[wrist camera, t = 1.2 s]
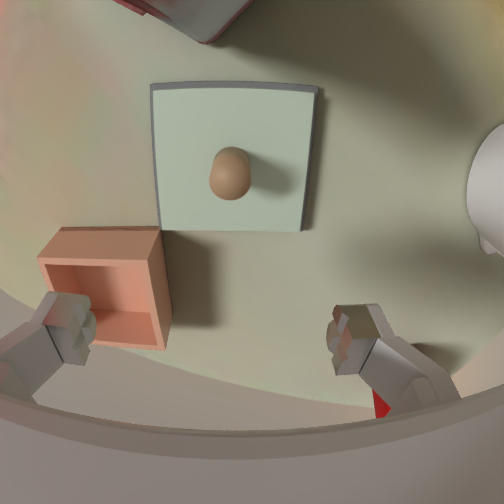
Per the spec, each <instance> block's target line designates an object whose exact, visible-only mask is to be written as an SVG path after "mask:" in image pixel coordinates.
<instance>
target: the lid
mask: <svg viewBox="0 0 504 504" xmlns="http://www.w3.org/2000/svg"><path fill="white" fill-rule="evenodd" d="M313 103H314V93H313V92H307V91H296V90H283V89H267V88H239V87H203V88H176V89H160V90H154V91H153V112H154V135H155V153H156V168H157V181H158V193H159V204H160V214H161V224H162V230H213V231H277V232H300V225H301V217H302V209H303V200H304V192H305V183H306V174H307V165H308V156H309V146H310V136H311V126H312V115H313Z"/></svg>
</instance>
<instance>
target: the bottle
mask: <svg viewBox="0 0 504 504" xmlns="http://www.w3.org/2000/svg"><path fill="white" fill-rule="evenodd" d="M113 1H115V2H117V3H119V4H121V5H123V6H125V7H126V8H128V9H130V10H132V11H134V12H136V13H138V14H140V15H142V16H143V15H144V14H145V13H146V12H147V13H149V14H150V15H152V16H154V17H156V18H158V19H160V20H161V21H163V22H165V23H167V24H168V25H170V26H172V27H174V28H175V29H177V30H179V31H181V32H182V33H184V34H186V35H187V36H189V37H190V38H192V39H194V40H195V41H197V42H199V43H201V44H206V45H208V44H210V43H212V42H214V41H215V40H216V39H217V38H218V37H219V36H220V35H221V34H222V33H223V32H224V31H225V30H226V28H227V27H228V26H229V25H230V24H231V23H232V22H233V21H234V20H235V19H236V18H237V17H238V16H239V15H240V14H241V13H242V12H243V11H244V10H245V9H246V8H247V7H248V6H249V5H250V4H251V3H252V2H253V1H254V0H113Z"/></svg>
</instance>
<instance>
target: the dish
mask: <svg viewBox="0 0 504 504" xmlns="http://www.w3.org/2000/svg"><path fill="white" fill-rule="evenodd" d="M37 260H38V263H39V266H40V269H41V271H42V274H43V277H44V279H45V282H46V285H47V287H48V290H49V291H54V292H64V293H72V294H80V295H86V296H88V297H89V299H90V302H91V306H90V309H89V310H90V311H91V312H92V313H93V314H94V315H95V318H96V325H97V328H96V335H95V338H94V341H93V342H92V343H90V344H97V345H106V346H115V347H126V348H137V349H151V350H166V346H167V341H168V336H169V331H170V326H171V321H172V316H173V310H172V304H171V297H170V291H169V284H168V277H167V270H166V263H165V255H164V247H163V239H162V231H161V230H160V228H159V226H127V227H61V229H60V230H59V231H58V232H57V233H56V234H55V236H54V237H53V238H52V239H51V240H50V241H49V243H48V244H47V245H46V246H45V248H44V249H43V250H42V251H41V252H40V254H39V255H38V256H37Z"/></svg>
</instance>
